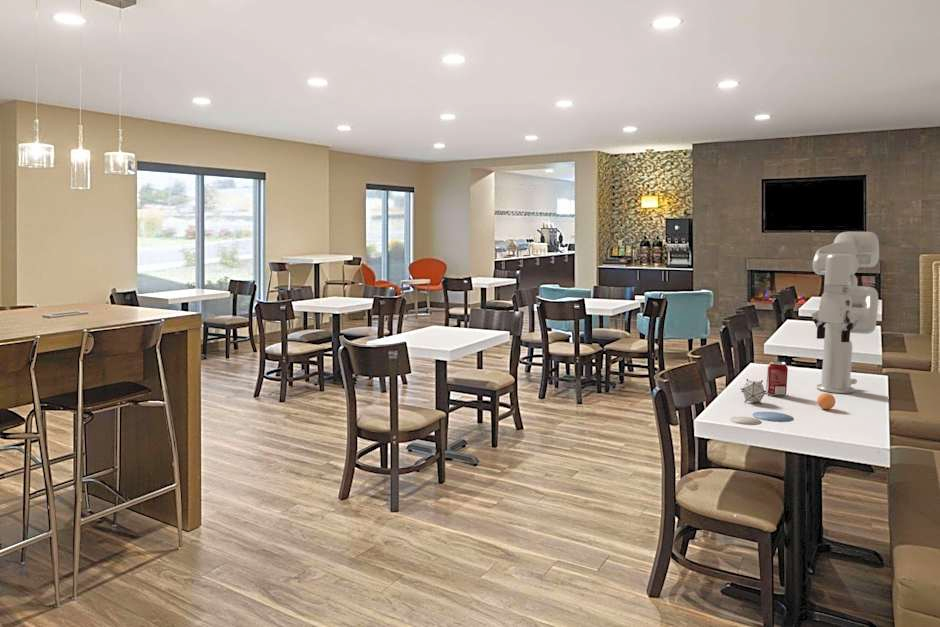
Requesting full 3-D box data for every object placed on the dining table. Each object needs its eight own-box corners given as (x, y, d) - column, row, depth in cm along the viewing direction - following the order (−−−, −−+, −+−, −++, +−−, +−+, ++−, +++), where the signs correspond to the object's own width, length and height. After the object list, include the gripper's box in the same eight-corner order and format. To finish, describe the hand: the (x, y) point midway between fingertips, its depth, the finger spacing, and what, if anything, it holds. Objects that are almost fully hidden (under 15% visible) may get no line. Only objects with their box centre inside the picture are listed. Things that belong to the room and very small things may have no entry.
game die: (746, 412, 251) (732, 386, 255) (768, 403, 252) (754, 378, 256) (752, 405, 243) (738, 378, 247) (776, 396, 244) (761, 370, 248)
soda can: (788, 397, 258) (790, 364, 257) (767, 396, 259) (769, 363, 258) (783, 393, 265) (785, 361, 263) (764, 392, 266) (766, 360, 265)
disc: (770, 410, 238) (770, 410, 238) (801, 419, 228) (801, 418, 228) (744, 414, 233) (744, 413, 233) (774, 423, 222) (774, 422, 222)
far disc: (744, 415, 231) (744, 415, 231) (767, 422, 223) (767, 422, 223) (723, 418, 227) (724, 418, 227) (746, 425, 219) (746, 425, 219)
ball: (823, 406, 245) (825, 390, 244) (838, 410, 240) (839, 394, 240) (812, 408, 243) (813, 392, 242) (827, 411, 238) (828, 395, 237)
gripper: (866, 292, 239) (862, 343, 240) (822, 289, 255) (819, 337, 256) (851, 291, 236) (847, 343, 237) (807, 289, 252) (803, 337, 253)
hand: (832, 340), depth 247 cm, fingers open, 9 cm apart
